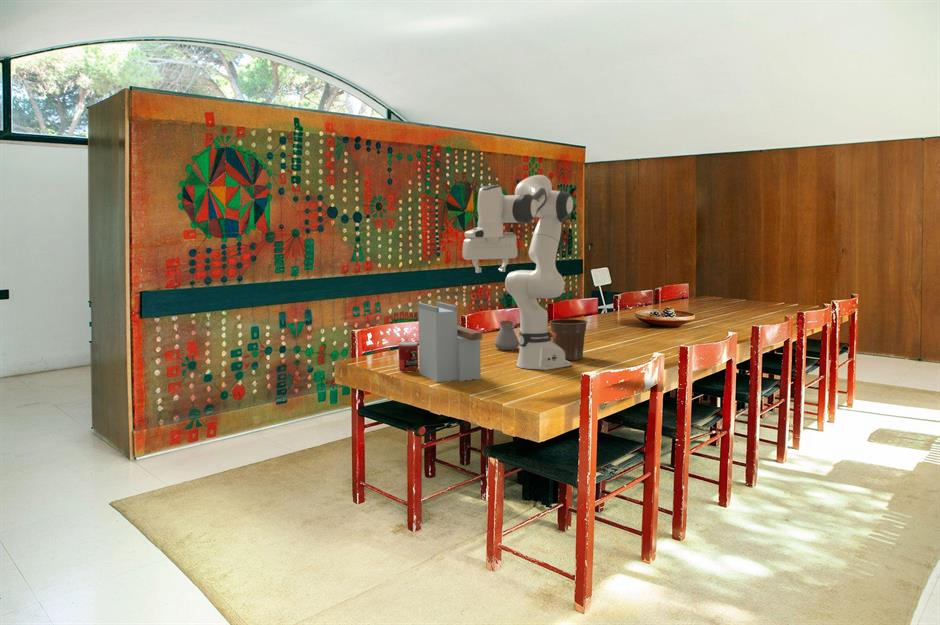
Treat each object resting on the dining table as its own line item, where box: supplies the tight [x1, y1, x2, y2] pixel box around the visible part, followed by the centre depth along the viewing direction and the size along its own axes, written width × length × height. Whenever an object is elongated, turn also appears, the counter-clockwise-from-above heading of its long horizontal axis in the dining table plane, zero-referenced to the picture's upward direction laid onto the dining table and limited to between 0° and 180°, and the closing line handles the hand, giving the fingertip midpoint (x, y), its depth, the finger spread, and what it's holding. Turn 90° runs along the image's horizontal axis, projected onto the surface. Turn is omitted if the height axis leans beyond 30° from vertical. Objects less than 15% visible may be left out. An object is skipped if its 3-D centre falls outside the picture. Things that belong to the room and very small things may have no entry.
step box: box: [417, 301, 482, 383], centre depth 271 cm, size 17×19×28 cm
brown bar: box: [457, 324, 483, 341], centre depth 269 cm, size 4×22×2 cm, turn 26°
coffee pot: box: [493, 320, 520, 351], centre depth 324 cm, size 21×12×15 cm, turn 26°
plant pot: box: [548, 318, 589, 361], centre depth 307 cm, size 16×16×16 cm
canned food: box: [398, 341, 419, 372], centre depth 284 cm, size 8×8×11 cm
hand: (490, 272), depth 249 cm, fingers open, 8 cm apart
